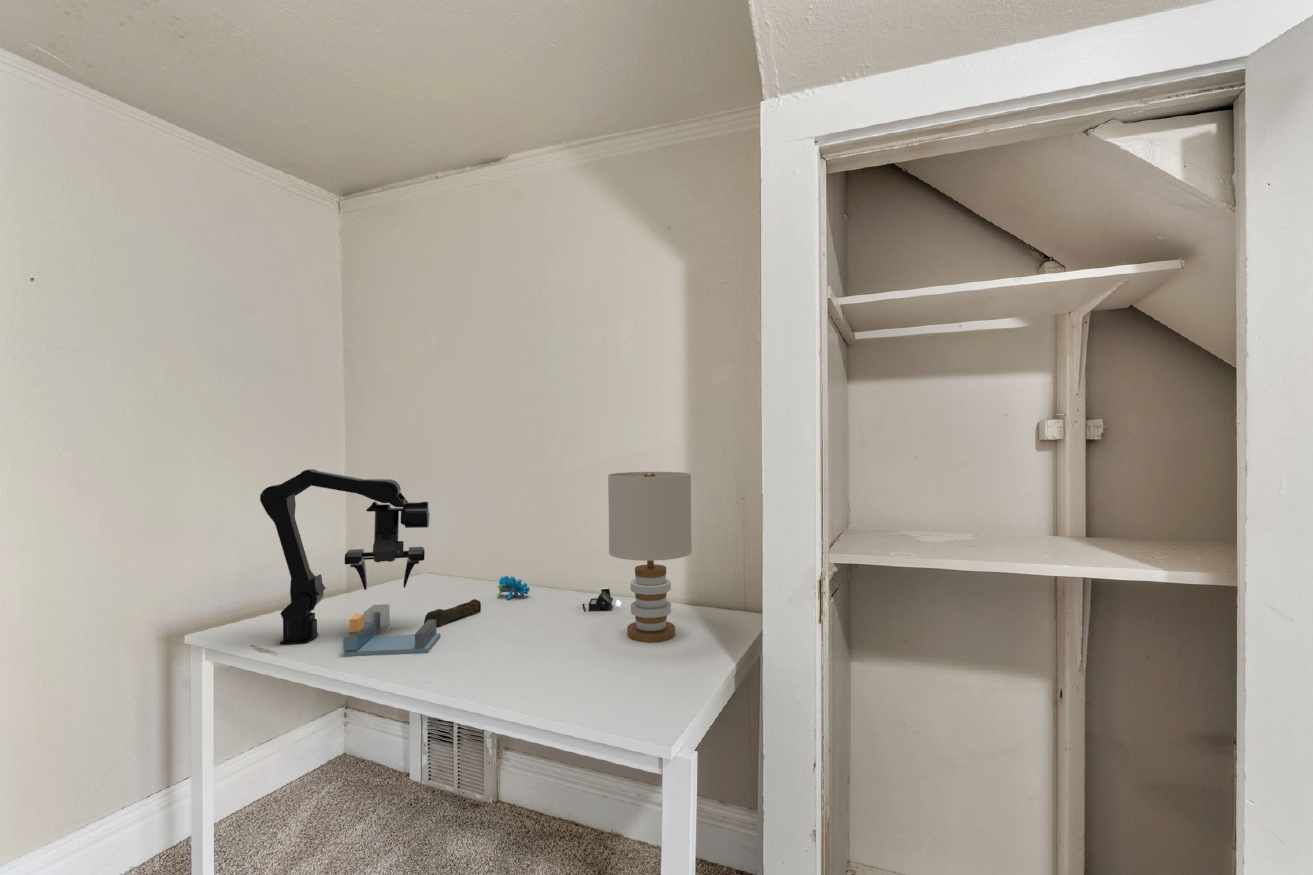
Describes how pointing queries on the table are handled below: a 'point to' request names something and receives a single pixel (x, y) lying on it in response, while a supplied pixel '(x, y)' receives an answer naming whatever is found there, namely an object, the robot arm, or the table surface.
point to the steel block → (378, 617)
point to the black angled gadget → (601, 601)
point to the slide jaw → (358, 633)
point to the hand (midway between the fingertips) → (385, 588)
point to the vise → (400, 642)
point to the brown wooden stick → (453, 612)
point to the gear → (512, 586)
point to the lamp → (650, 541)
